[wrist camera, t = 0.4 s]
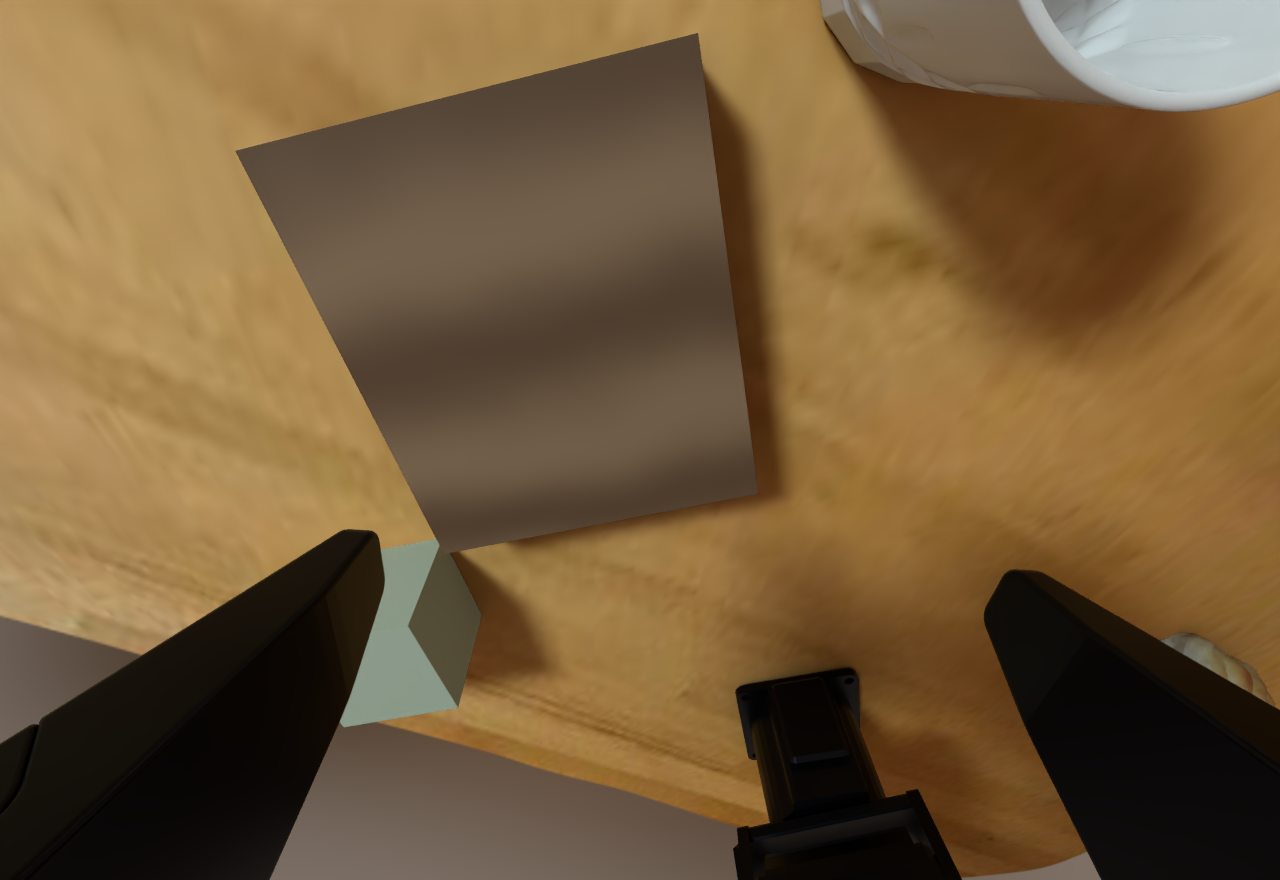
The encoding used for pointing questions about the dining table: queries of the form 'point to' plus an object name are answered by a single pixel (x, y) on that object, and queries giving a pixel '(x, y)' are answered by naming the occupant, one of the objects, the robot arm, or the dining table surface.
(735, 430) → the walnut block
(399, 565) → the sage cube
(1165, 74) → the white cup
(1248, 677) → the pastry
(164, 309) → the dining table surface
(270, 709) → the robot arm
